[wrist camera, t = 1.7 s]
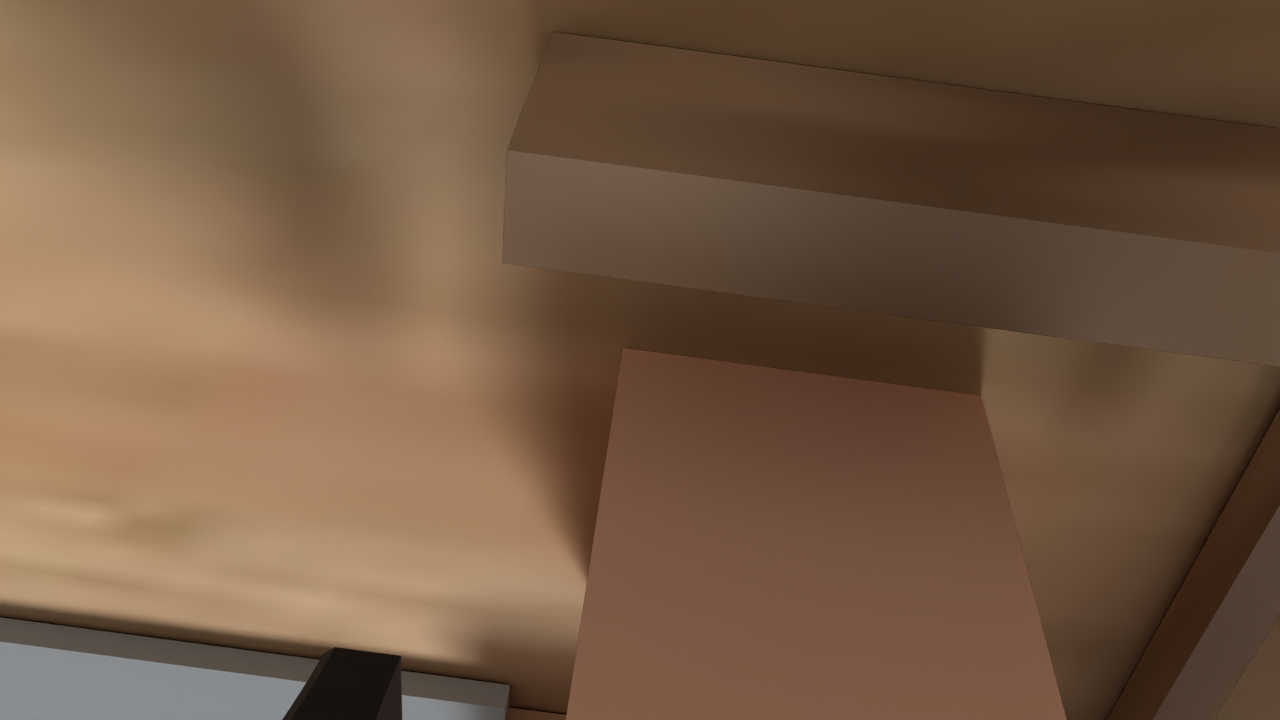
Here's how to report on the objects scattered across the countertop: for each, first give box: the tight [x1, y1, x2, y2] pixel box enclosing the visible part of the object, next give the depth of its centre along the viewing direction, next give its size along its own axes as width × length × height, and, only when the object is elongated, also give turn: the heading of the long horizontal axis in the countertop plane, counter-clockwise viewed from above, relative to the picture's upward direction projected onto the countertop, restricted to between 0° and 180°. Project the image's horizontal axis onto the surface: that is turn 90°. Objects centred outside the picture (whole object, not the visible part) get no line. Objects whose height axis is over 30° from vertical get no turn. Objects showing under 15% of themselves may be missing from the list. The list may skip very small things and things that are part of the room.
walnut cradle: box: [502, 32, 1280, 720], centre depth 13 cm, size 9×11×2 cm
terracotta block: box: [566, 348, 1067, 720], centre depth 12 cm, size 4×4×6 cm
